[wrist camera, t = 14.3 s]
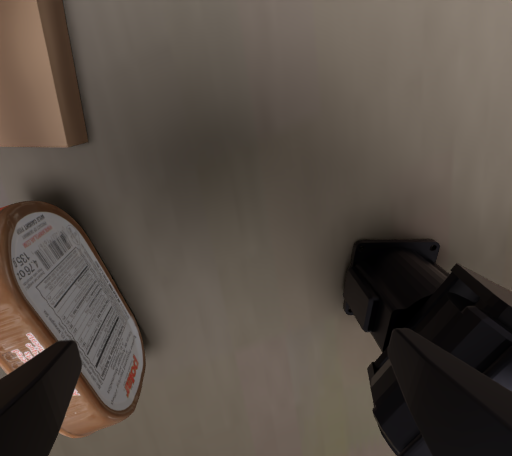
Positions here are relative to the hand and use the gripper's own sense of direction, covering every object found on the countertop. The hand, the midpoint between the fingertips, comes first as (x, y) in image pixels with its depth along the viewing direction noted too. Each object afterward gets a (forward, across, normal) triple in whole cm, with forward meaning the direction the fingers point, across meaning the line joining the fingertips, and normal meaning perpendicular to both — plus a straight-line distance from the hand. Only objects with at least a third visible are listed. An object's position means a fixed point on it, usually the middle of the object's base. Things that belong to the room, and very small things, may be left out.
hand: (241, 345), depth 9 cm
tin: (+13, +10, +6) cm, 18 cm away
